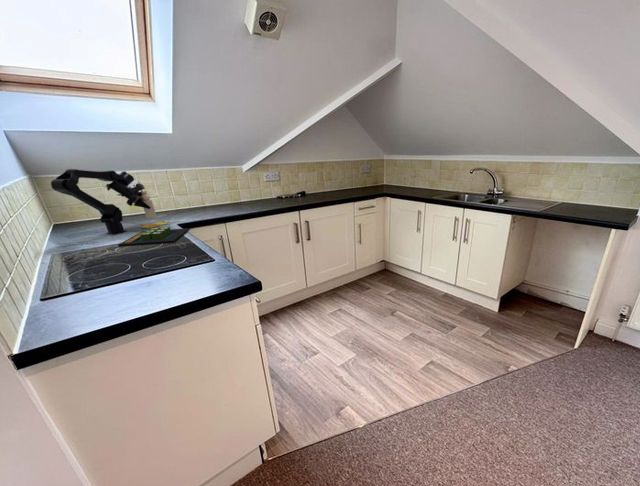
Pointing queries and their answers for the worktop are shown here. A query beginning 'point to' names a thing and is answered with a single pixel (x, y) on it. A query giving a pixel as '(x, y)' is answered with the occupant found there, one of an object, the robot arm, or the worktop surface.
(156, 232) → the sushi
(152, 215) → the toy rabbit
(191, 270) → the worktop surface
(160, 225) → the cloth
